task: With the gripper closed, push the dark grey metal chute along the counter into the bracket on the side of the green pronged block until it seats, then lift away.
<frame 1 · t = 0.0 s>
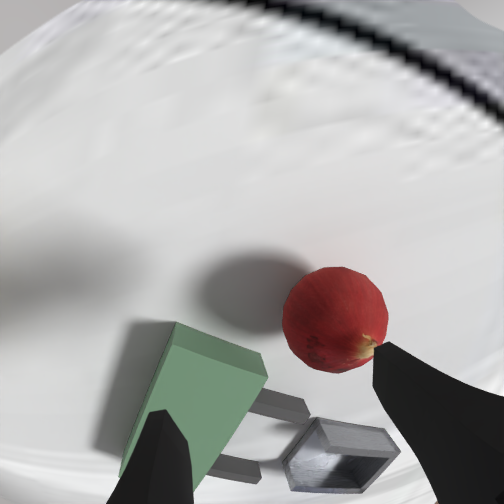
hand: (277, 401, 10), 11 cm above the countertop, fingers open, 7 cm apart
chute: (341, 459, 23), point 2 cm above the countertop, slide at 7.0 cm
onion: (313, 296, 21), on the countertop
green pronged block: (182, 412, 21), on the countertop
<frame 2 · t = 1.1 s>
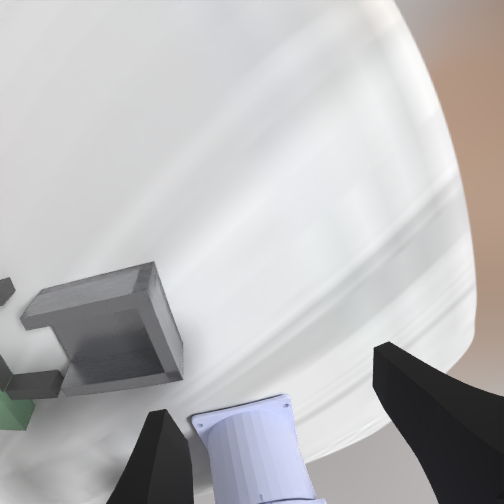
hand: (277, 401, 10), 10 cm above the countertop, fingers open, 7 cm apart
chute: (104, 334, 17), point 2 cm above the countertop, slide at 7.0 cm
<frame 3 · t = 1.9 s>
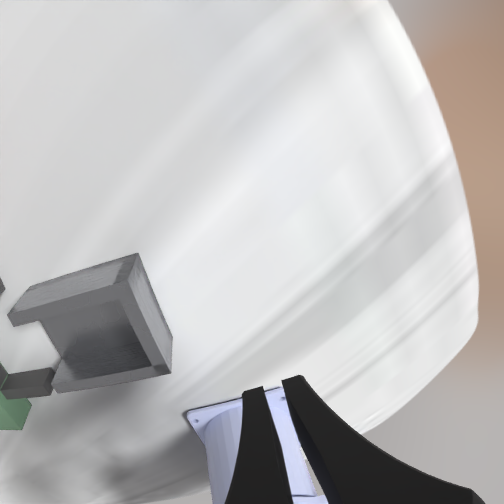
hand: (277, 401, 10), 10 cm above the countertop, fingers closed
chute: (91, 328, 17), point 2 cm above the countertop, slide at 7.0 cm
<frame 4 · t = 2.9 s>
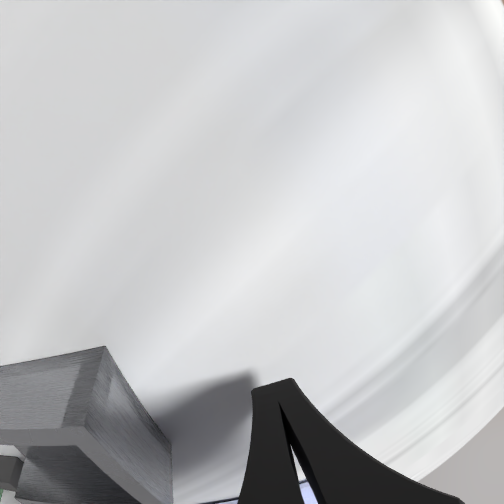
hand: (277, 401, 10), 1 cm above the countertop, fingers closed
chute: (52, 445, 9), point 2 cm above the countertop, slide at 7.0 cm
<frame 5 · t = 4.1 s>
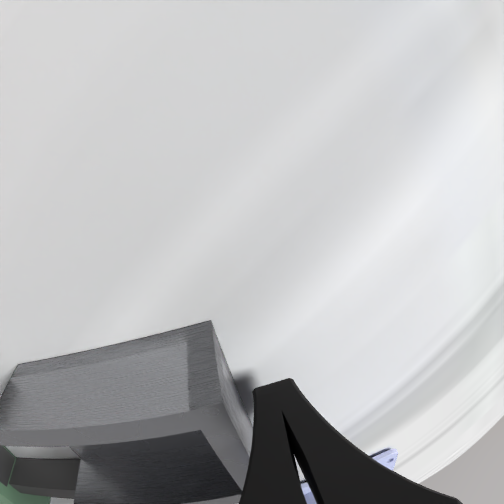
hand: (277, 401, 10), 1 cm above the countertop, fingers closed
chute: (132, 440, 9), point 2 cm above the countertop, slide at 5.9 cm, touching gripper
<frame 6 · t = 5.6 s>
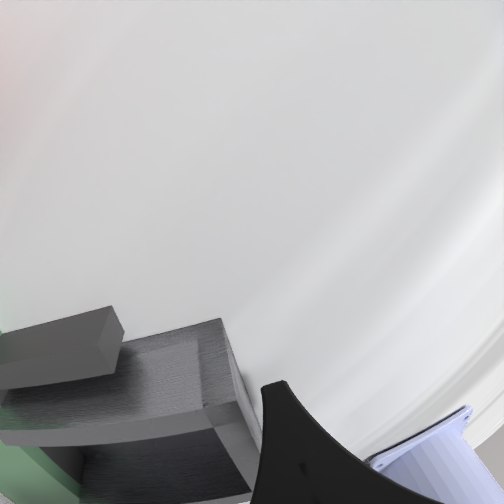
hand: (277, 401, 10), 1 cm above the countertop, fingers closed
chute: (139, 439, 9), point 2 cm above the countertop, slide at -0.1 cm, touching gripper
green pronged block: (15, 418, 10), on the countertop
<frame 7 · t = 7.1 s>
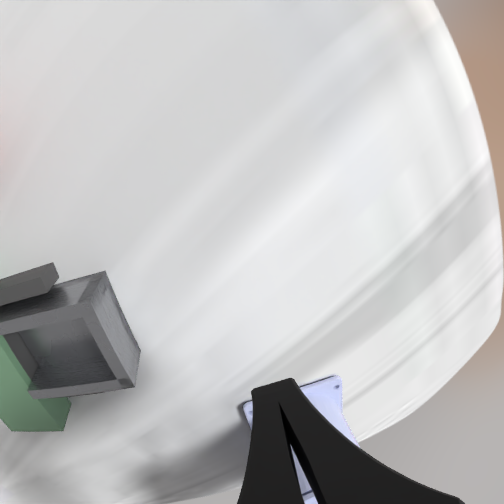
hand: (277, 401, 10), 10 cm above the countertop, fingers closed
chute: (63, 341, 17), point 2 cm above the countertop, slide at 0.0 cm
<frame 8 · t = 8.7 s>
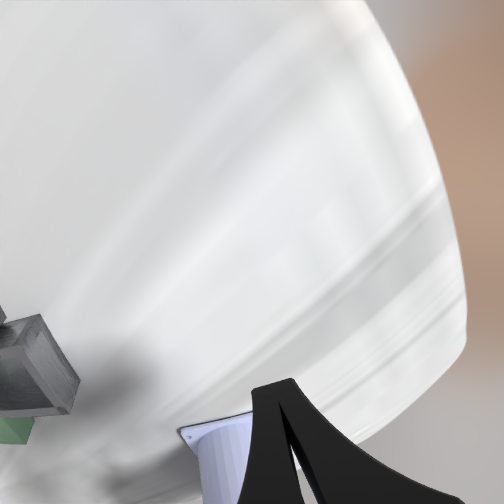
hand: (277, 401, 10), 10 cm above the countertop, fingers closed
chute: (14, 371, 17), point 2 cm above the countertop, slide at 0.0 cm
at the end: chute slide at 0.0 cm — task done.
